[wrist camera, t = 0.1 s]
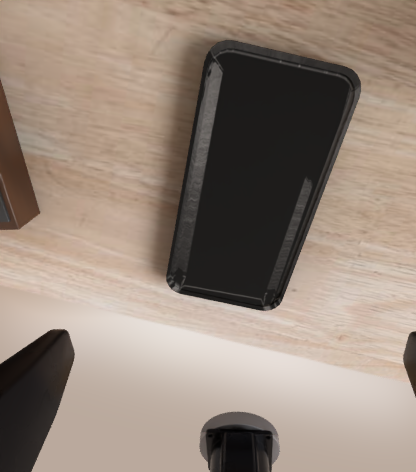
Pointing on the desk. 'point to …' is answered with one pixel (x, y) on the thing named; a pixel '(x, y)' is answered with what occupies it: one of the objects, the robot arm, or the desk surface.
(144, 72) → the desk surface
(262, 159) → the phone
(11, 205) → the wooden display base
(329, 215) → the desk surface
